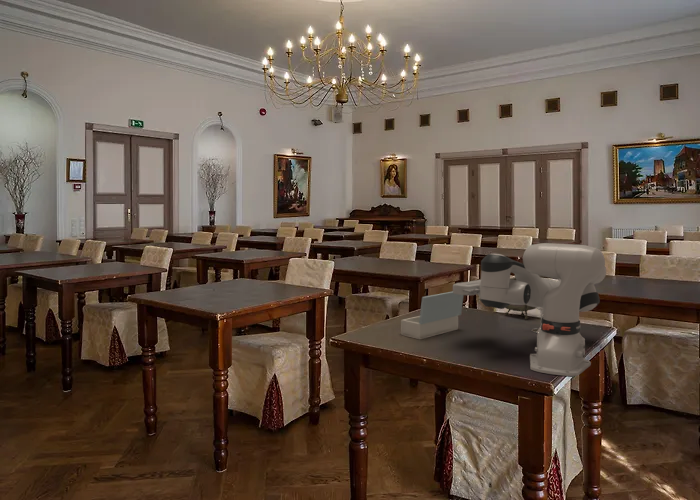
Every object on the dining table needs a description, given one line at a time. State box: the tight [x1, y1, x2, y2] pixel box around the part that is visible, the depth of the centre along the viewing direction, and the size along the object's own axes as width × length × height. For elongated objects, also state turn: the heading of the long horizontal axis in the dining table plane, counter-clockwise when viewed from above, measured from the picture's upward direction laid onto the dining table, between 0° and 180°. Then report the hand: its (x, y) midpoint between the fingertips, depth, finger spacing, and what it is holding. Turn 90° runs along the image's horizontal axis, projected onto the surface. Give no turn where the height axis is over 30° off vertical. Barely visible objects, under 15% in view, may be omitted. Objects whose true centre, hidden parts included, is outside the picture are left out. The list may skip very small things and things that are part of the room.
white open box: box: [400, 315, 459, 340], centre depth 217 cm, size 10×24×6 cm, turn 131°
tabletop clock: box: [504, 262, 537, 320], centre depth 242 cm, size 14×9×25 cm, turn 37°
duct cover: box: [419, 290, 464, 324], centre depth 211 cm, size 11×25×1 cm
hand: (458, 284), depth 205 cm, fingers closed
